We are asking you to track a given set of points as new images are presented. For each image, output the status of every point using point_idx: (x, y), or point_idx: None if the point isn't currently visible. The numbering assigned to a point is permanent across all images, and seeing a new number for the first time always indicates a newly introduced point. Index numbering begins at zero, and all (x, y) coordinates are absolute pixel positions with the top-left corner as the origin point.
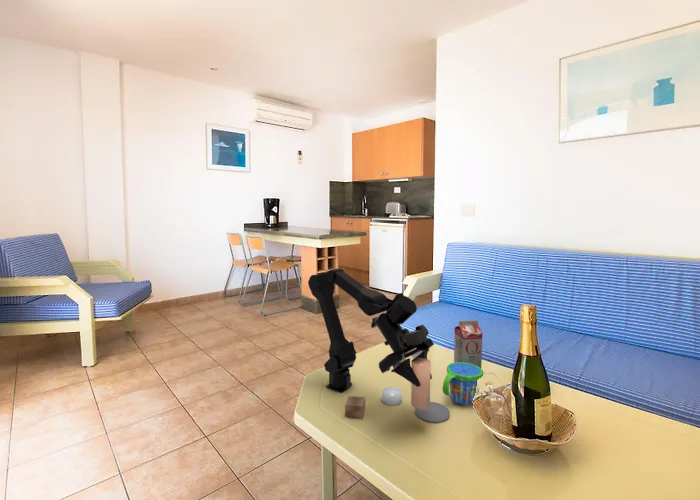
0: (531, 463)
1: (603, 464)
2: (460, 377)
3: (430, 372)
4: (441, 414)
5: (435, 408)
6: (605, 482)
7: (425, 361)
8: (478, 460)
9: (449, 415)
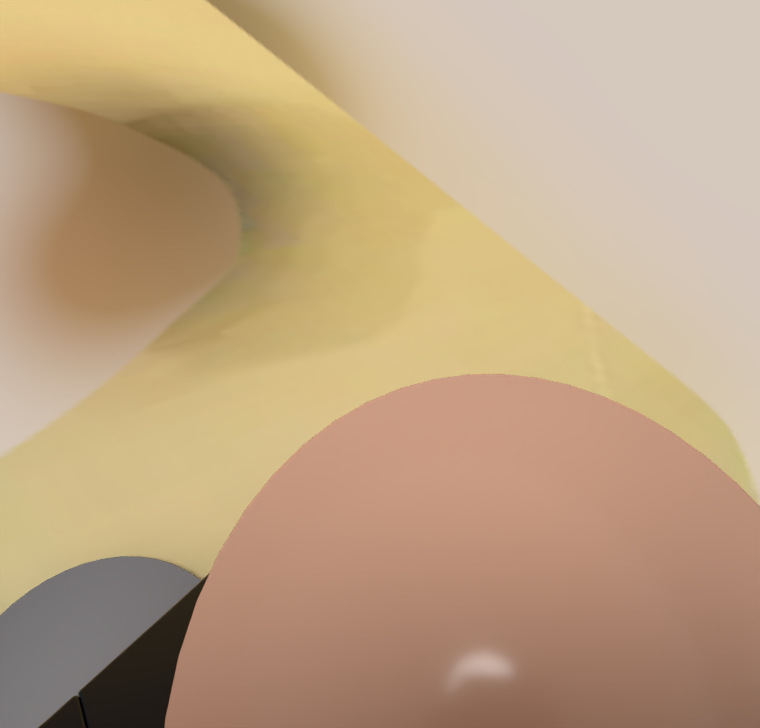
0: (261, 177)
1: (126, 48)
2: None
3: (191, 594)
4: (115, 613)
5: (45, 708)
6: (217, 49)
7: (413, 577)
8: (378, 306)
9: (92, 562)
